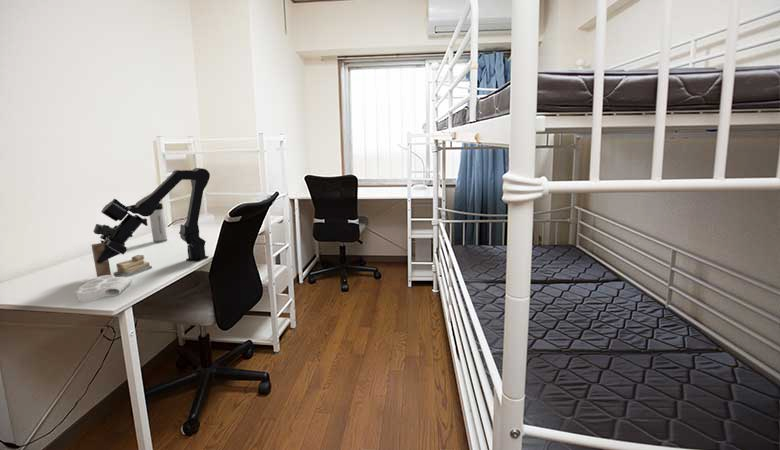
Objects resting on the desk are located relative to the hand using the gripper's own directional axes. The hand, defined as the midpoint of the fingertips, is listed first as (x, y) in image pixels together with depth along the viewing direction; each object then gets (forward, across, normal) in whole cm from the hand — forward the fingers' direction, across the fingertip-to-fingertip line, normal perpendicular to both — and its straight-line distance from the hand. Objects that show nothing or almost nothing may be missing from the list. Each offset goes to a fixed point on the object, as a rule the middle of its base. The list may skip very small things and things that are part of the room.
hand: (97, 261), depth 154 cm
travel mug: (-18, -47, +27) cm, 57 cm away
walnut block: (+4, 0, +6) cm, 7 cm away
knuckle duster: (+6, +17, +4) cm, 18 cm away
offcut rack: (-3, 0, +12) cm, 13 cm away
